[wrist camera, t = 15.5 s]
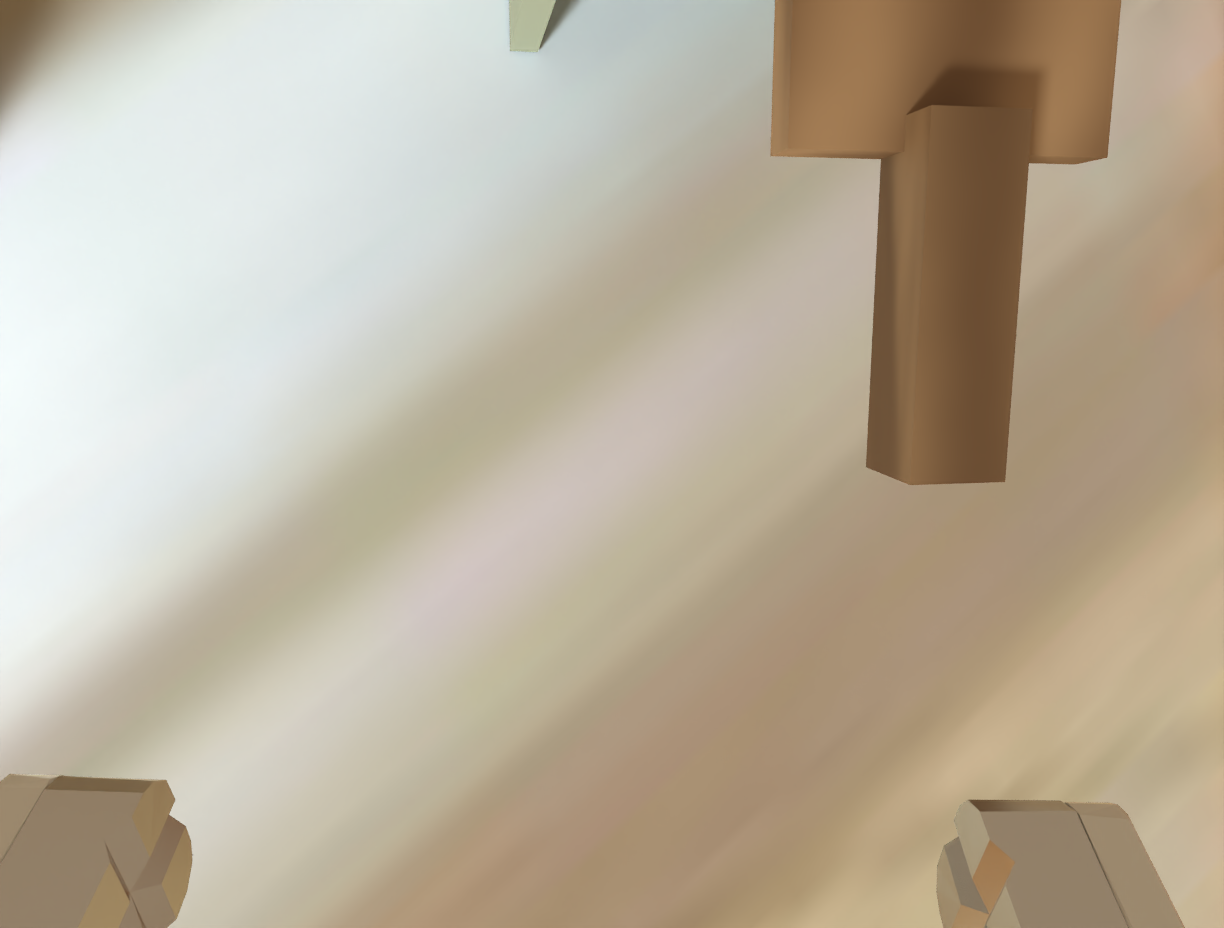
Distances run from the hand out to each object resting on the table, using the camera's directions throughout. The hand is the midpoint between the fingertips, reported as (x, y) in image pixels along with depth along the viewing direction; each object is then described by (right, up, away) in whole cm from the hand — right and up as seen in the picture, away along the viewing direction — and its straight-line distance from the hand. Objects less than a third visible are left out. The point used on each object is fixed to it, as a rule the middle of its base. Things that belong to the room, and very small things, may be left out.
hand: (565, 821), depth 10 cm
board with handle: (+10, +14, +19) cm, 26 cm away
